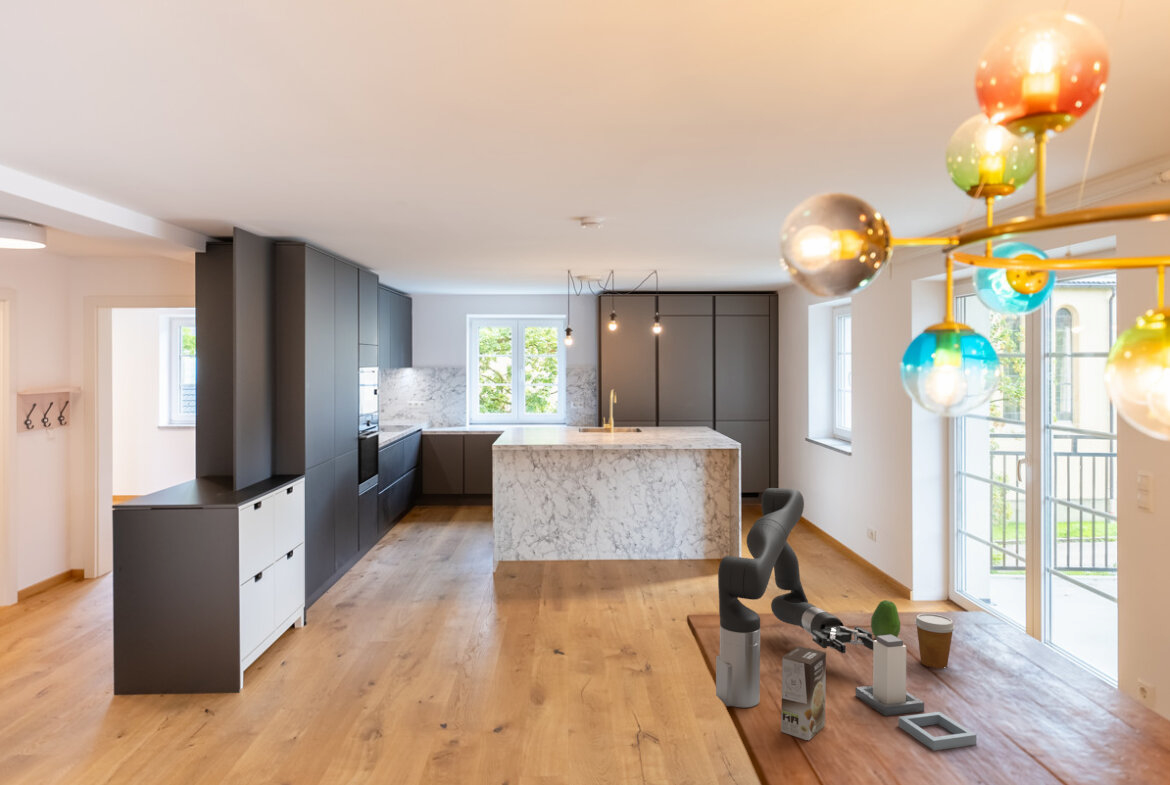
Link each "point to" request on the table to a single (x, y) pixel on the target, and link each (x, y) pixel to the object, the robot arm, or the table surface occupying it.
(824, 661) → the coffee box
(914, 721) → the front socket
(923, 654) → the disposable coffee cup
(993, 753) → the table surface
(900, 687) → the plug
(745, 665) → the robot arm
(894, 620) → the avocado
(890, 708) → the back socket
